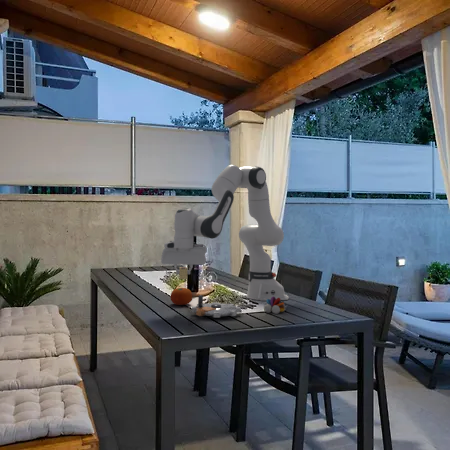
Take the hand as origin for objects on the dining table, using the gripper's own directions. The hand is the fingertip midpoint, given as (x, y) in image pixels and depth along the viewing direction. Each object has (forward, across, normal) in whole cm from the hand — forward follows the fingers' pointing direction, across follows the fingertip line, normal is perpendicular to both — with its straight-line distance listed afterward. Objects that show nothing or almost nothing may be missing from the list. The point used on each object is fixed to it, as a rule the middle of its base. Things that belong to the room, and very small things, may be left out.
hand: (183, 274), depth 218 cm
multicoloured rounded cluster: (+17, -42, +2) cm, 46 cm away
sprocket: (+15, -15, +8) cm, 23 cm away
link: (+2, 0, 0) cm, 2 cm away
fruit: (+17, +1, -14) cm, 23 cm away
